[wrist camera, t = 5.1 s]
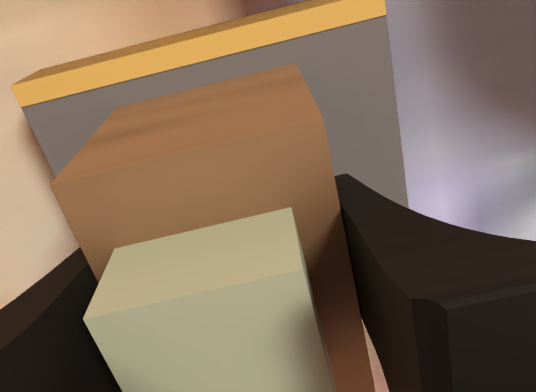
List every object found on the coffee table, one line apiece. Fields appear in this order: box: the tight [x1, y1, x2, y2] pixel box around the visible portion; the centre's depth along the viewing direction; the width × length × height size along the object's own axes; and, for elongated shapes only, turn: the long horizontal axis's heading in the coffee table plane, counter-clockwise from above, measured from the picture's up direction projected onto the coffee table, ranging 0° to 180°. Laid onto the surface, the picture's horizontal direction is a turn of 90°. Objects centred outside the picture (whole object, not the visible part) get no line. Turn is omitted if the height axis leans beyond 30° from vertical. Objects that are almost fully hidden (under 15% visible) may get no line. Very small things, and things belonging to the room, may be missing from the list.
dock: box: [10, 0, 409, 209], centre depth 15 cm, size 9×10×2 cm
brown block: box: [50, 63, 375, 392], centre depth 12 cm, size 7×5×5 cm
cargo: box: [83, 207, 336, 392], centre depth 9 cm, size 4×4×2 cm
